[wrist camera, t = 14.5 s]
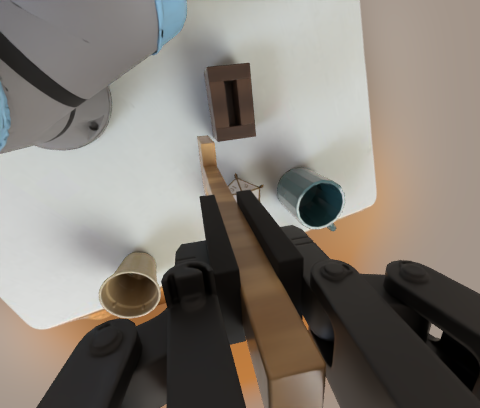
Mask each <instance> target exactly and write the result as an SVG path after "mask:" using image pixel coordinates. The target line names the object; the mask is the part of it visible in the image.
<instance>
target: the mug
mask: <svg viewBox="0 0 480 408" xmlns="http://www.w3.org/2000/svg"><path fill="white" fill-rule="evenodd" d="M277 196H278V199H279V201H280V202H281V203H282V205H283V206H284V207H285V208H286V209H287V210H288V211H289V212H290V213H291V214H292V215H293V216H294V217H295V218H296V219H297V220H298V221H299V222H300V223H301V224H302V225H303V226H305V227H307V228H309V229H322V228H325V227H327V228H328V229H330V230H331V231H335V229H336V226H335V224H334V223H333V222H335V221H336V220H337V219H338V217H339V216H340V215H341V213H342V212H343V208H344V205H345V194H344V192H343V190H342V188H341V186H340V185H338V184H337V183H335V182H334V181H332V180H330V179H328V178H326V177H324V176H322V175H320V174H318V173H316V172H314V171H312V170H310V169H307V168H303V167H298V168H294V169H291V170H289V171H288V172H286V173H285V174H284V175H283V176H282V178H281V179H280V181H279V183H278V186H277Z"/></svg>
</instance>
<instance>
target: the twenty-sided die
mask: <svg viewBox="0 0 480 408" xmlns="http://www.w3.org/2000/svg"><path fill="white" fill-rule="evenodd" d="M234 176H235V179H234V180H233V181H232V182H231V184H230V185H229V186H228V188H229V189H230V191H231V193H232V195H233V197H234V198H235V200H236V202H237V196H236V191H243V190H251V191H252V192H253V194H254V195H255V196H256V198H257V199H258V200H259V201H260V188H262V187H263V186H264V185H261V186H260V187H258V186H255V185H253V184H251V183H248V182H246V181H243V180H241V179H239V178H237V174H236V173H235V175H234Z"/></svg>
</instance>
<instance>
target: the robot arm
mask: <svg viewBox="0 0 480 408" xmlns="http://www.w3.org/2000/svg"><path fill="white" fill-rule="evenodd" d="M186 16H187V0H0V154H2V153H6V152H10V151H14V150H18V149H22V148H26V147H30V146H37V147H41V148H45V149H50V150H71V149H76V148H80V147H82V146H85V145H87V144H89V143H91V142H93V141H94V140H96V139H97V138H98V137H99V136H100V135H101V134H102V133H103V132H104V130H105V129H106V127H107V125H108V123H109V120H110V116H111V111H112V100H111V94H110V90H109V87H108V85H109V84H111V83H112V82H114V81H115V80H116V79H118V78H119V77H121V76H122V75H123V74H125V73H126V72H128V71H129V70H130V69H132V68H133V67H135V66H136V65H137V64H139V63H140V62H141V61H143V60H144V59H146V58H147V57H148V56H150V55H155V54H157V53H158V52H159V51H160V50H161V48H162V46H163V45H164V44H166V43H167V42H168V41H169V40H171V39H172V38H173V37H174V36H176V35H177V34H178V33H179V32H180V31H181V30H182V28H183V25H184V22H185V20H186ZM236 196H237V204H238V206H239V208H240V209H241V211H242V213H243V215H244V217H245V218H246V220H247V222H248V224H249V226H250V227H251V229H252V231H253V233H254V235H255V237H256V238H257V240H258V242H259V244H260V246H261V247H262V249H263V251H264V253H265V255H266V256H267V258H268V260H269V262H270V264H271V265H272V267H273V269H274V271H275V273H276V275H277V276H278V278H279V279H280V281H281V283H282V285H283V287H284V288H285V290H286V292H287V294H288V296H289V297H290V299H291V301H292V303H293V305H294V306H295V308H296V310H297V312H298V314H299V315H300V317H301V319H302V314H303V316H304V318H305V320H306V321H307V323H308V325H309V330H308V332H309V334H310V335H311V337H312V339H313V341H314V343H315V344H316V346H317V348H318V350H319V352H320V353H321V355H322V357H323V359H324V361H325V362H326V378H327V380H328V382H329V384H330V386H331V388H332V391H333V393H334V395H335V397H336V399H337V402H338V404H339V406H340V408H480V294H479V293H477V292H475V291H473V290H471V289H469V288H468V287H466V286H464V285H462V284H460V283H458V282H456V281H454V280H452V279H450V278H448V277H447V276H445V275H443V274H441V273H439V272H437V271H435V270H433V269H431V268H429V267H427V266H425V265H422V264H420V263H416V262H412V261H402V260H399V261H393V262H391V263H389V264H388V265H387V267H386V273H385V275H376V274H359V273H358V271H357V270H356V269H355V268H353V267H352V266H351V265H349V264H347V263H345V262H342V261H338V260H333V259H330V258H329V257H328V256H327V255H326V254H325V253H324V252H323V251H322V250H321V249H320V248H319V247H318V246H317V245H316V244H315V243H314V242H313V240H311V238H309V237H308V236H307V234H306V233H305V232H304V231H303V230H302V229H300V228H298V227H296V226H293V225H290V226H284V227H279V225H278V224H277V223H276V222H275V220H274V219H273V218H272V217H271V215H270V214H269V213H268V211H267V210H266V209H265V208H264V206H263V205H262V204H261V203H260V201H259V200H258V199H257V198H256V196H255V195H254V194H253V192H252V191H251V190H243V191H236ZM200 203H201V210H202V217H203V224H204V231H205V238H206V240H205V241H199V242H193V243H187V244H181V246H180V247H179V249H178V250H177V251H176V258H175V261H176V262H175V266H174V267H172V268H170V269H169V270H168V271H167V272H166V273H165V274H164V275H163V278H162V281H161V283H162V287H163V291H164V295H165V300H166V304H167V308H166V309H165V310H164V311H163V312H162V313H161V314H159V315H158V316H156V317H155V318H153V319H151V320H149V321H147V322H145V323H143V324H140V325H138V326H136V325H135V323H134V322H132V321H130V320H129V319H120V318H119V319H114V320H110V321H107V322H105V323H102V324H101V325H98V326H96V327H95V328H94V329H92V330H91V331H90V332H88V333H87V334H86V335H85V336H84V337H83V339H82V340H81V341H80V342H79V343H78V345H77V346H76V348H75V349H74V351H73V352H72V354H71V355H70V357H69V358H68V360H67V362H66V363H65V365H64V366H63V368H62V369H61V371H60V372H59V374H58V375H57V377H56V378H55V380H54V381H53V383H52V384H51V386H50V388H49V389H48V391H47V392H46V394H45V396H44V397H43V398H42V400H41V401H40V403H39V404H38V406H37V407H36V408H160V407H162V406H164V405H165V404H167V408H246V406H245V402H244V398H243V394H242V390H241V386H240V382H239V378H238V375H237V371H236V367H235V363H234V359H233V355H232V352H231V348H230V344H235V343H239V342H243V341H246V337H245V332H244V329H243V322H242V309H241V296H240V287H241V283H240V272H239V267H238V264H237V261H236V258H235V255H234V252H233V249H232V246H231V243H230V240H229V237H228V234H227V231H226V228H225V225H224V222H223V219H222V216H221V213H220V210H219V207H218V204H217V201H216V198H215V195H207V196H200ZM431 324H434V325H435V326H437V327H438V328H439V329H441V330H442V331H443V333H442V336H441V339H439V338H435V337H434V336H432V335H430V334H429V331H430V327H431Z"/></svg>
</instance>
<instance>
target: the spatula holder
mask: <svg viewBox="0 0 480 408" xmlns="http://www.w3.org/2000/svg"><path fill="white" fill-rule="evenodd" d="M204 77H205V83H206V90H207V97H208V104H209V110H210V117H211V124H212V130H213V137H214V138H215V139H216V140H217V141H218V142H220V141H227V140H233V139H240V138H247V137H254V136H256V131H255V124H254V123H255V120H254V108H253V97H252V85H251V74H250V63H243V64H233V65H223V66H213V67H207V68H206V70H205V72H204Z"/></svg>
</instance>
